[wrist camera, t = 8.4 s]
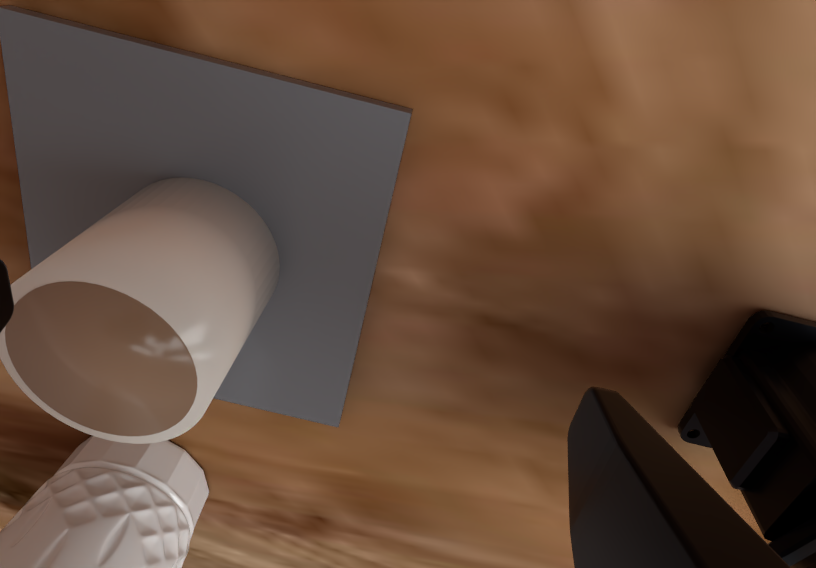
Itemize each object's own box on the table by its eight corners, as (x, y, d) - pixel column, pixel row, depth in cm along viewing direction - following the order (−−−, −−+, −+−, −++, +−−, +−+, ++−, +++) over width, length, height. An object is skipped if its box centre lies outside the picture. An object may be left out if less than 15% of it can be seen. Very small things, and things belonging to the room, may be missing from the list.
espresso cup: (288, 201, 20) (216, 302, 14) (266, 371, 24) (202, 503, 18) (117, 158, 19) (-28, 243, 14) (123, 337, 23) (13, 460, 18)
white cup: (44, 412, 27) (-153, 627, 18) (204, 420, 26) (78, 648, 18) (93, 520, 31) (-50, 739, 22) (233, 530, 30) (141, 759, 22)
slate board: (412, 108, 18) (411, 113, 18) (341, 417, 25) (338, 427, 25) (9, 4, 18) (-4, 6, 17) (52, 350, 25) (43, 358, 24)
